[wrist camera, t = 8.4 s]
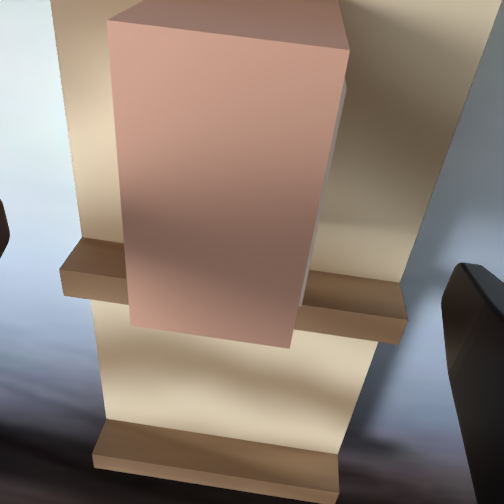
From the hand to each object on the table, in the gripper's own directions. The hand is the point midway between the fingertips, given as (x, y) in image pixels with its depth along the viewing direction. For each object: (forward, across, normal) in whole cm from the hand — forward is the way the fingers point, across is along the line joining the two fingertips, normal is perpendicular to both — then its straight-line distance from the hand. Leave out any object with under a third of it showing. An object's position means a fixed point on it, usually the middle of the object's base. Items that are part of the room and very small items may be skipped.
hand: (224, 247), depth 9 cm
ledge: (+8, 0, +6) cm, 10 cm away
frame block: (+7, 0, 0) cm, 7 cm away
